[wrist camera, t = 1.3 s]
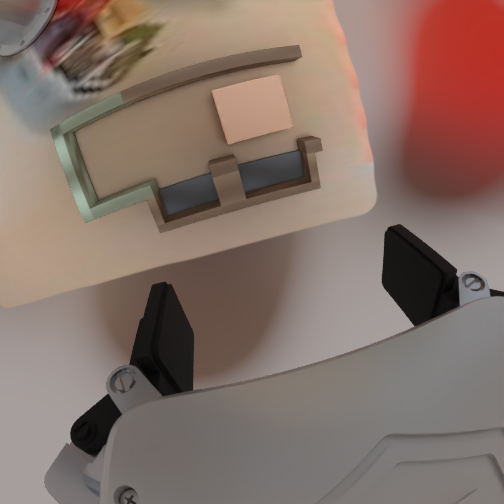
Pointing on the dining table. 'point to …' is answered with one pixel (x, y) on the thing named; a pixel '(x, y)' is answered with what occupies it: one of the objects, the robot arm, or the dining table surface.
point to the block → (252, 108)
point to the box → (222, 169)
